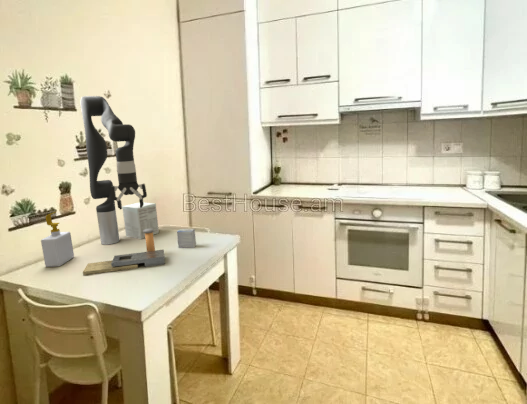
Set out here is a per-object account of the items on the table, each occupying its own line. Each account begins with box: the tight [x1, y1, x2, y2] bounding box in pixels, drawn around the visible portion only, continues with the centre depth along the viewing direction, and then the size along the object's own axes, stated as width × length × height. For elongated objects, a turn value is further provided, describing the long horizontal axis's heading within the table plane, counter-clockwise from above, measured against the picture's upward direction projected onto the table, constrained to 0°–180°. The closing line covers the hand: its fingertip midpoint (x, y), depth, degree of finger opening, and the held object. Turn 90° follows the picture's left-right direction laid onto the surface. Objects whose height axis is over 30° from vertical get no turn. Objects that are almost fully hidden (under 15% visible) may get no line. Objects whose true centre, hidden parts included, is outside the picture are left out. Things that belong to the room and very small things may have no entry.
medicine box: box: [176, 228, 197, 249], centre depth 171 cm, size 8×4×9 cm, turn 84°
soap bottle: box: [40, 211, 75, 268], centre depth 156 cm, size 12×7×23 cm, turn 179°
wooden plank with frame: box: [82, 249, 166, 276], centre depth 149 cm, size 32×10×4 cm, turn 106°
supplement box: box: [121, 201, 160, 240], centre depth 195 cm, size 13×13×18 cm
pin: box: [143, 228, 156, 252], centre depth 161 cm, size 5×5×12 cm
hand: (131, 208), depth 153 cm, fingers open, 8 cm apart
